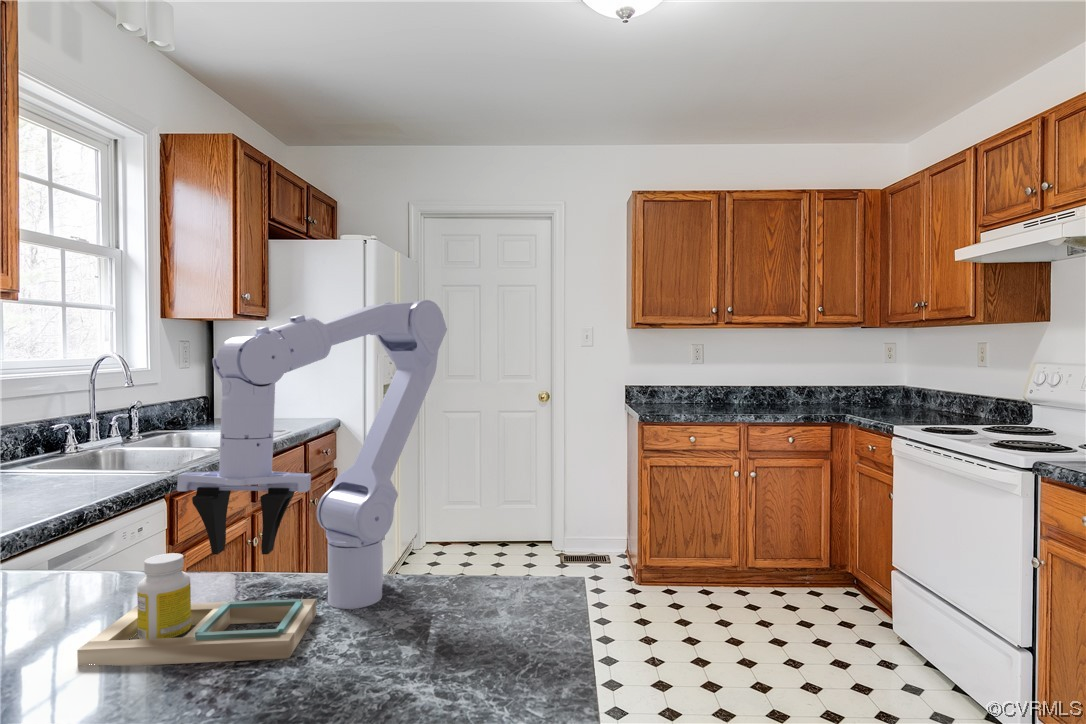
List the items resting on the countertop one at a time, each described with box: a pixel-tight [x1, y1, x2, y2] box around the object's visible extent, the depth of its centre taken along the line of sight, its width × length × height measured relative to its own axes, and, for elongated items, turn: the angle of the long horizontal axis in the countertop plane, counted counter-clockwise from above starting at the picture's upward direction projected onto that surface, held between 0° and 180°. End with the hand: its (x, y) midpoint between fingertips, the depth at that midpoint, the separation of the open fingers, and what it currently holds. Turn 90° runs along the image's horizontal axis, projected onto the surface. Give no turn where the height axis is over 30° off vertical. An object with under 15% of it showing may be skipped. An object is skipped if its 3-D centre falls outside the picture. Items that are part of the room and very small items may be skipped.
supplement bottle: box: [136, 552, 192, 639], centre depth 75 cm, size 5×5×10 cm
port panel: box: [76, 598, 318, 667], centre depth 75 cm, size 12×22×2 cm, turn 96°
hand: (243, 552), depth 75 cm, fingers open, 5 cm apart
